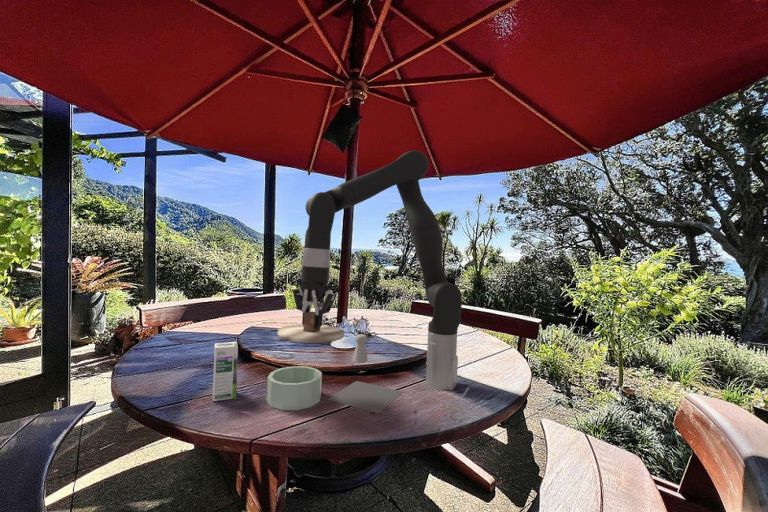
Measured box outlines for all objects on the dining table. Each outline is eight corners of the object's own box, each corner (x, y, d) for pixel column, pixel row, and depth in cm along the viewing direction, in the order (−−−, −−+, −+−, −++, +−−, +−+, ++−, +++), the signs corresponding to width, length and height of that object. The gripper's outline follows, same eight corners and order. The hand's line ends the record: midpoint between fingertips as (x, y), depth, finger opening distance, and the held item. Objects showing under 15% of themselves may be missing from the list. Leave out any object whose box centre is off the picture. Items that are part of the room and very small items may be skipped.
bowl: (330, 396, 94) (331, 372, 94) (297, 417, 82) (298, 388, 82) (292, 386, 100) (293, 363, 100) (255, 404, 88) (256, 377, 88)
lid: (355, 334, 96) (357, 313, 96) (317, 346, 80) (319, 322, 80) (306, 324, 104) (307, 305, 104) (262, 334, 87) (264, 312, 88)
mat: (402, 393, 98) (402, 391, 98) (378, 415, 84) (378, 413, 84) (356, 382, 105) (356, 380, 105) (326, 401, 91) (327, 399, 91)
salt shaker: (365, 375, 112) (367, 337, 112) (349, 374, 113) (351, 336, 113) (369, 370, 118) (371, 333, 118) (354, 368, 119) (355, 332, 119)
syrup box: (212, 402, 88) (214, 347, 88) (212, 393, 93) (214, 342, 93) (236, 398, 90) (238, 345, 90) (234, 390, 95) (237, 340, 96)
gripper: (344, 267, 92) (340, 329, 92) (304, 263, 98) (300, 321, 98) (329, 266, 85) (324, 333, 85) (287, 263, 92) (282, 325, 91)
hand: (311, 326), depth 92 cm, fingers closed on lid, 3 cm apart
